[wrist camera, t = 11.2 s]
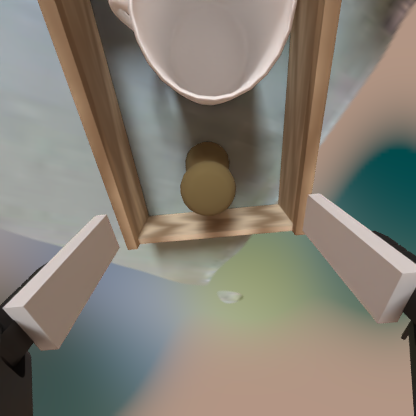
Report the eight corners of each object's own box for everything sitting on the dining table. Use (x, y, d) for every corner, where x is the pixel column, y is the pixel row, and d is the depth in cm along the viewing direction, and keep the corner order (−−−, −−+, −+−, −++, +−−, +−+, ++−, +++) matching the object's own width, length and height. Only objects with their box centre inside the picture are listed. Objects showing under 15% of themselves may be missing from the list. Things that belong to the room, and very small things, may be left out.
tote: (143, 221, 31) (128, 249, 24) (70, -32, 18) (-1, -106, 12) (284, 208, 30) (305, 234, 24) (309, -66, 17) (367, -164, 11)
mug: (250, 103, 23) (285, 98, 13) (151, 108, 23) (107, 108, 13) (254, -6, 19) (314, -145, 9) (133, 1, 19) (48, -126, 9)
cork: (238, 165, 27) (257, 197, 17) (206, 193, 29) (206, 237, 19) (208, 131, 25) (209, 145, 15) (176, 163, 27) (158, 195, 17)
